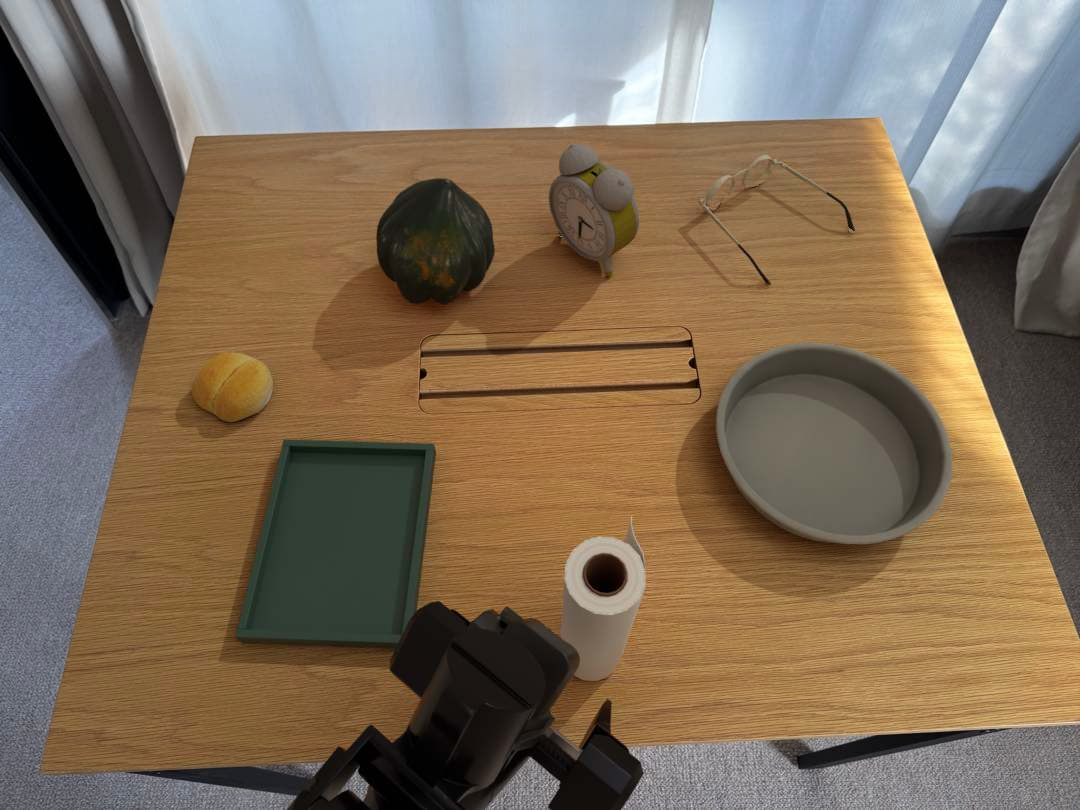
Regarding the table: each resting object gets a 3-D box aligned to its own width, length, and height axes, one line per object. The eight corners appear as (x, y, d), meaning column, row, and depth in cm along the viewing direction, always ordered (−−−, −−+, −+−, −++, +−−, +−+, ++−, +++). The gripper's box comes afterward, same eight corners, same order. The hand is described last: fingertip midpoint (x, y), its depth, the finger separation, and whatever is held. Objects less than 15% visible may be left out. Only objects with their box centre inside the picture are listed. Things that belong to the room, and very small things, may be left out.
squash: (344, 286, 91) (414, 217, 82) (368, 202, 100) (434, 130, 90) (441, 341, 99) (516, 284, 89) (455, 258, 107) (525, 197, 98)
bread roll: (244, 434, 87) (232, 416, 83) (185, 401, 89) (171, 382, 86) (291, 382, 91) (282, 362, 87) (234, 351, 93) (222, 331, 90)
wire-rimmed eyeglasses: (776, 170, 110) (786, 141, 106) (857, 232, 103) (871, 204, 99) (687, 220, 105) (693, 191, 100) (766, 289, 98) (776, 262, 94)
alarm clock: (546, 237, 103) (546, 146, 90) (583, 213, 105) (588, 121, 93) (606, 287, 98) (615, 198, 85) (643, 261, 101) (658, 170, 88)
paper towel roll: (578, 694, 72) (590, 630, 54) (547, 637, 75) (548, 557, 56) (644, 657, 74) (676, 582, 55) (611, 602, 76) (632, 514, 58)
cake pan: (965, 557, 79) (986, 540, 75) (725, 561, 79) (735, 545, 75) (901, 362, 92) (916, 339, 88) (696, 365, 92) (702, 342, 88)
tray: (412, 648, 74) (408, 643, 72) (241, 642, 74) (234, 637, 73) (436, 452, 86) (434, 443, 84) (288, 448, 86) (283, 439, 84)
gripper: (643, 783, 41) (712, 664, 55) (389, 577, 47) (509, 517, 61) (553, 918, 44) (639, 774, 58) (327, 709, 50) (454, 624, 64)
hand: (559, 666), depth 60 cm, fingers open, 9 cm apart
